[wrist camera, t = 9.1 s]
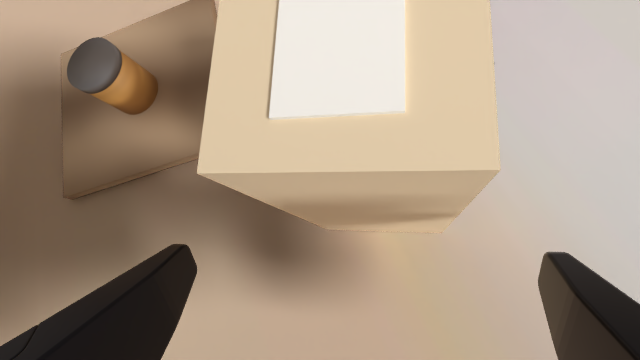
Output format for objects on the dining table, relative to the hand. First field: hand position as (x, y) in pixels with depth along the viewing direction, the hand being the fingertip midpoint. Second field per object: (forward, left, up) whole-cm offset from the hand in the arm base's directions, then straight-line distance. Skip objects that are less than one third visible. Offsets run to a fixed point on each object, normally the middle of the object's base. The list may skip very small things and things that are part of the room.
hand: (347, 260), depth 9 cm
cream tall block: (+4, +1, -8) cm, 8 cm away
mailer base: (+2, +17, -7) cm, 18 cm away
